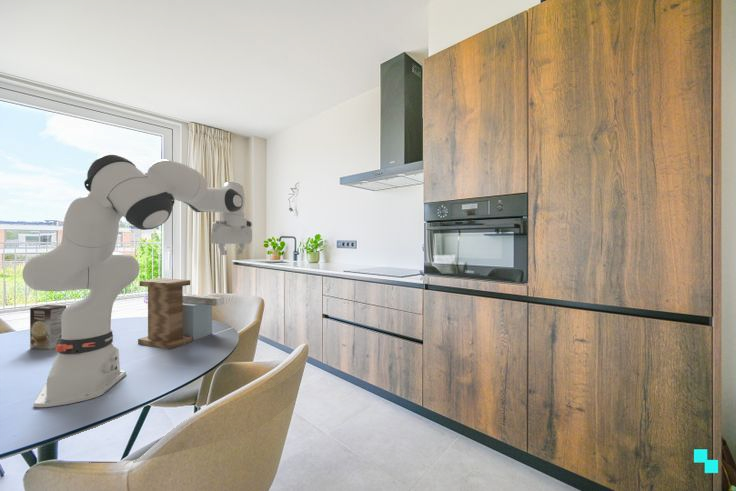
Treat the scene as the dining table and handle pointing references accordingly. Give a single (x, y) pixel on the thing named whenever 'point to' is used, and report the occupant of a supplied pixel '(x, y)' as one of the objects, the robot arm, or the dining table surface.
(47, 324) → the coffee box
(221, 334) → the dining table surface
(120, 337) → the dining table surface
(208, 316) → the block
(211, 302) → the aluminium bar
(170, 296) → the walnut stand
